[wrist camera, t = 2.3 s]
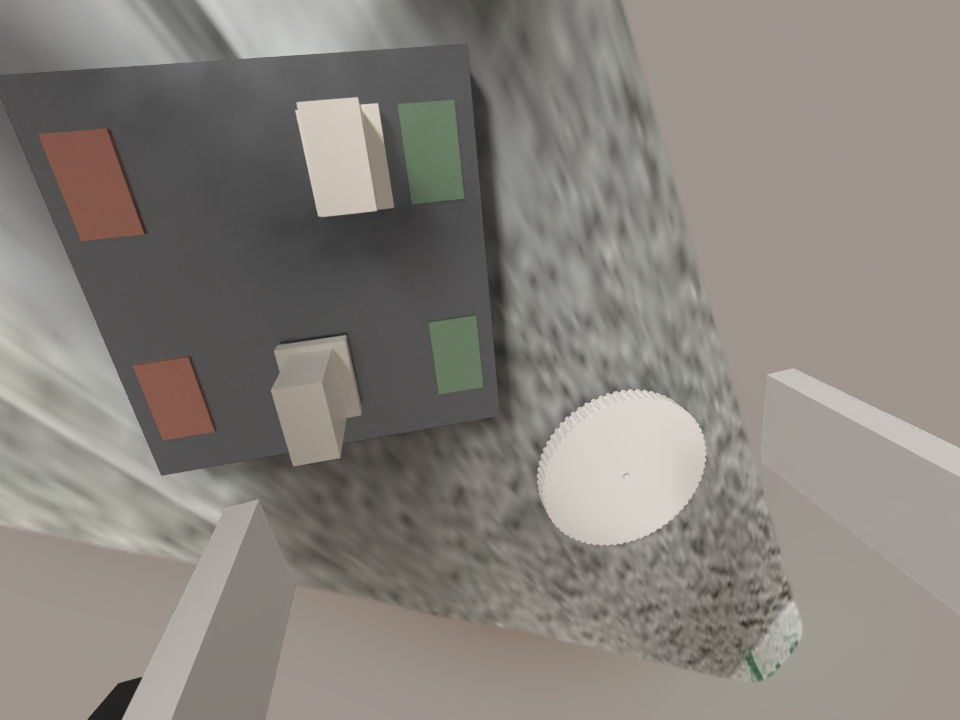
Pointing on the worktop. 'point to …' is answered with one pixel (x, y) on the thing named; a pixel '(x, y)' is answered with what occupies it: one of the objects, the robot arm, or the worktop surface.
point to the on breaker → (345, 156)
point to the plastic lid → (621, 467)
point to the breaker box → (267, 240)
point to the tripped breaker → (315, 397)
